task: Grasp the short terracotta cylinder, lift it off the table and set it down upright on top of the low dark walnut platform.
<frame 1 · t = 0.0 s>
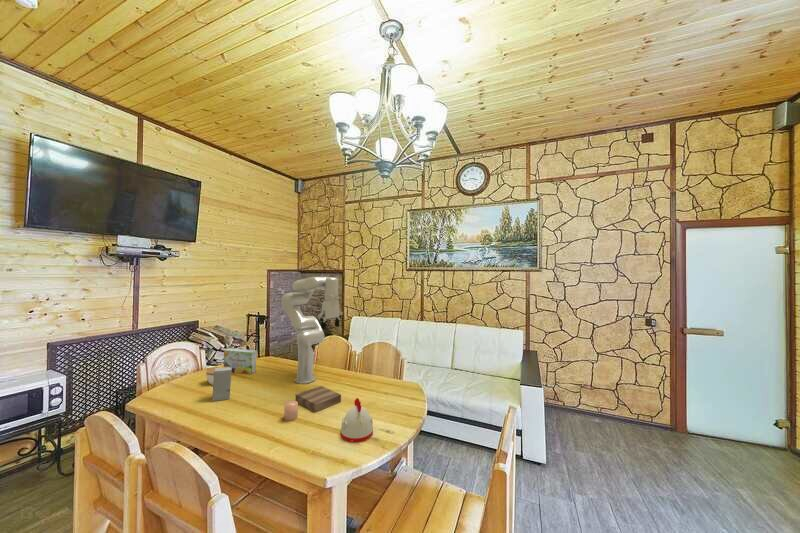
hand: (330, 327, 176), 37 cm above the table, tool pointing down, fingers open, 9 cm apart
terracotta cylinder: (290, 418, 142), on the table
kitchen timer: (356, 433, 131), on the table
snack box: (239, 372, 203), on the table
skincare box: (221, 398, 162), on the table
lidded jar: (216, 383, 182), on the table
walnut platform: (318, 401, 160), on the table
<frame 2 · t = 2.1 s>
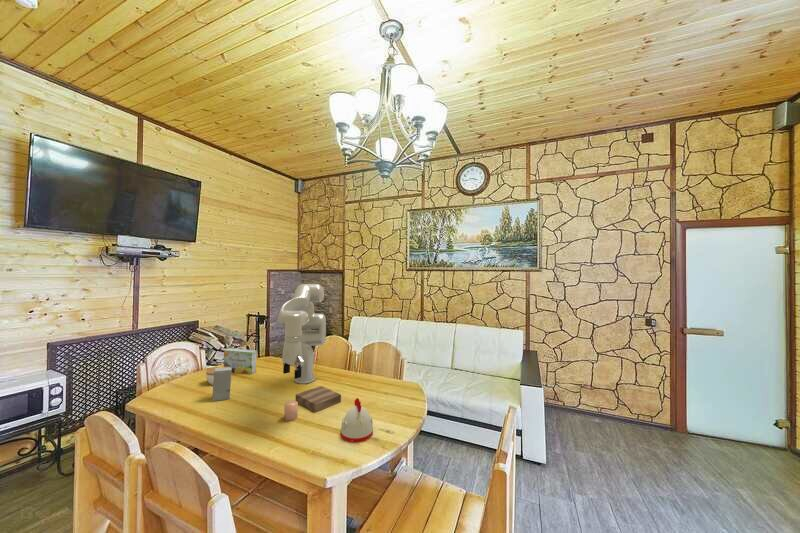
hand: (292, 375, 142), 20 cm above the table, tool pointing down, fingers open, 9 cm apart
nothing on the table moved.
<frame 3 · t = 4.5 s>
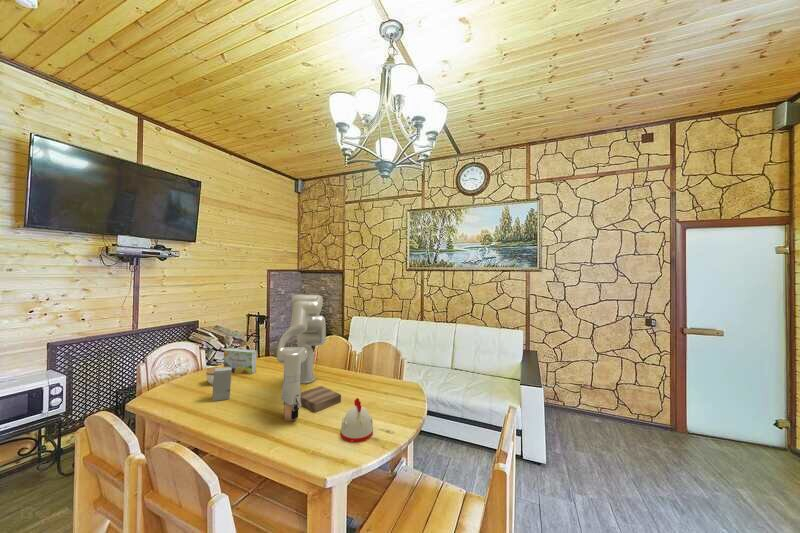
hand: (290, 415, 142), 1 cm above the table, tool pointing down, fingers closed on terracotta cylinder, 6 cm apart
terracotta cylinder: (290, 418, 142), on the table, touching gripper
everything else where it was.
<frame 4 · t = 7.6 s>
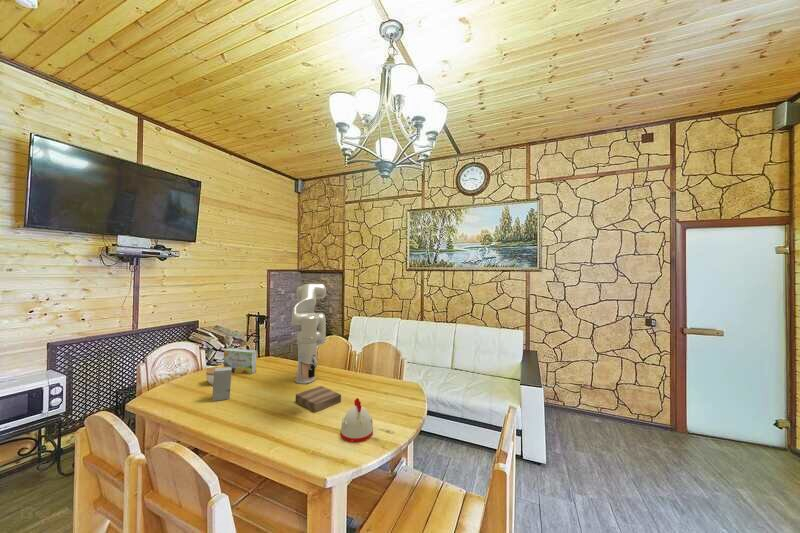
hand: (307, 374, 153), 17 cm above the table, tool pointing down, fingers closed on terracotta cylinder, 6 cm apart
terracotta cylinder: (307, 377, 153), point 16 cm above the table, touching gripper
everything else where it was.
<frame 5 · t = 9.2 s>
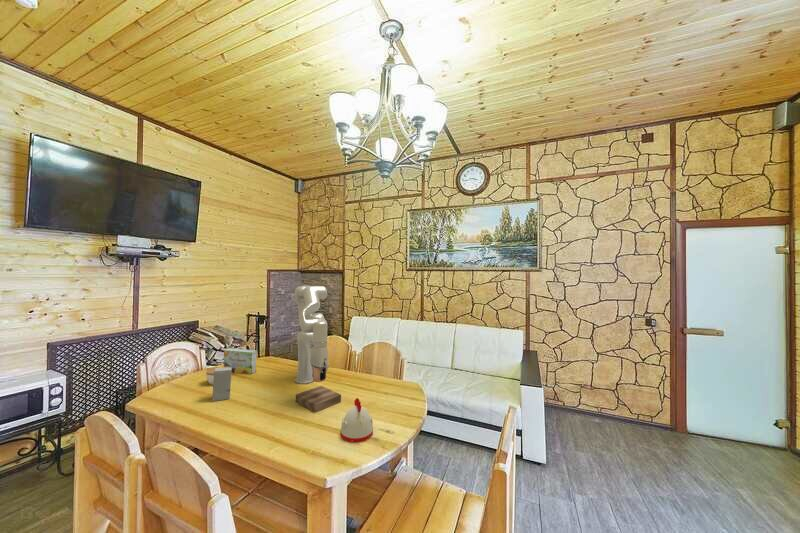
hand: (319, 377, 160), 13 cm above the table, tool pointing down, fingers closed on terracotta cylinder, 6 cm apart
terracotta cylinder: (318, 379, 160), point 12 cm above the table, touching gripper
everything else where it was.
when the fingers open (6 cm above the table, at t = 10.7 s): terracotta cylinder drops 1 cm, resting on walnut platform.
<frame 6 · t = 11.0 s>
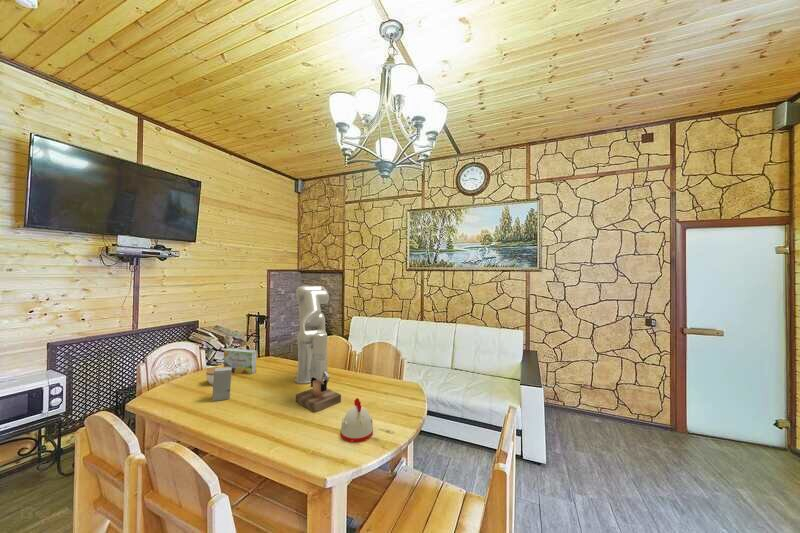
hand: (318, 388, 160), 7 cm above the table, tool pointing down, fingers open, 8 cm apart
terracotta cylinder: (318, 394, 160), point 4 cm above the table, touching walnut platform
everything else where it was.
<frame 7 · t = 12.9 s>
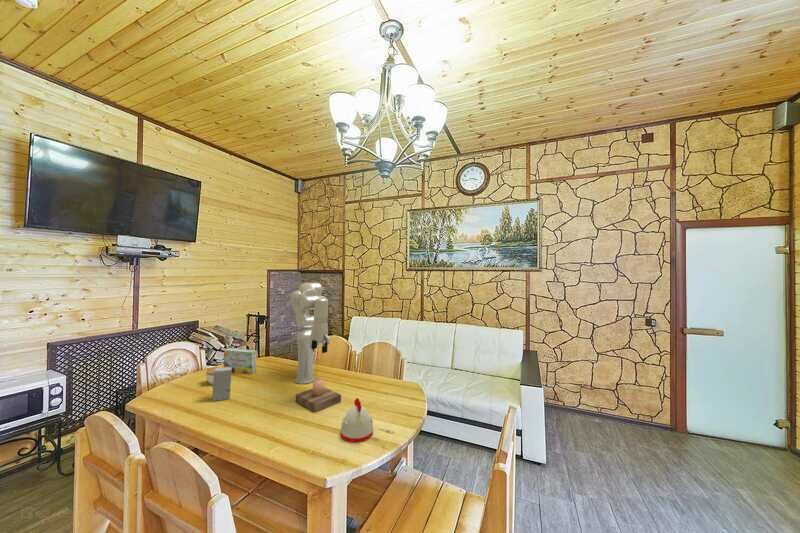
hand: (319, 350, 168), 25 cm above the table, tool pointing down, fingers open, 9 cm apart
nothing on the table moved.
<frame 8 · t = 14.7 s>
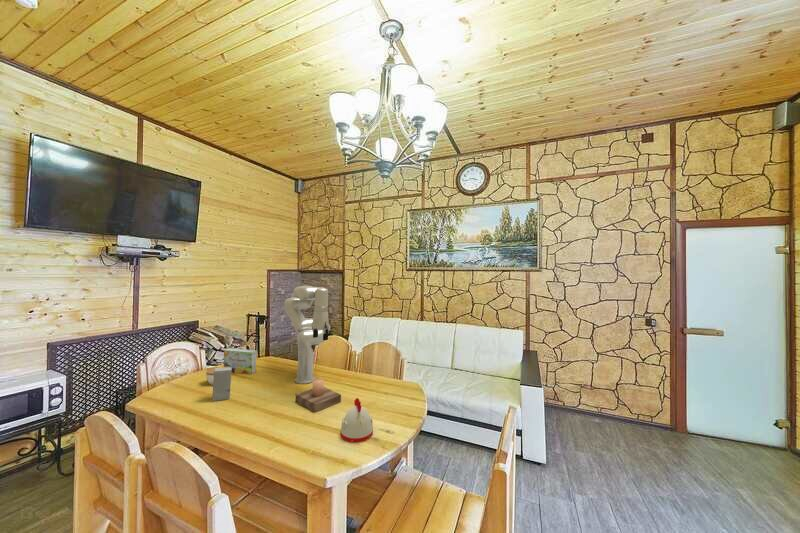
hand: (320, 338, 175), 30 cm above the table, tool pointing down, fingers open, 9 cm apart
nothing on the table moved.
at the end: terracotta cylinder inside the target area on the walnut platform (0.2 cm from its centre), point 4.1 cm above the walnut platform's base; terracotta cylinder tilted 2°; the gripper is holding nothing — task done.
